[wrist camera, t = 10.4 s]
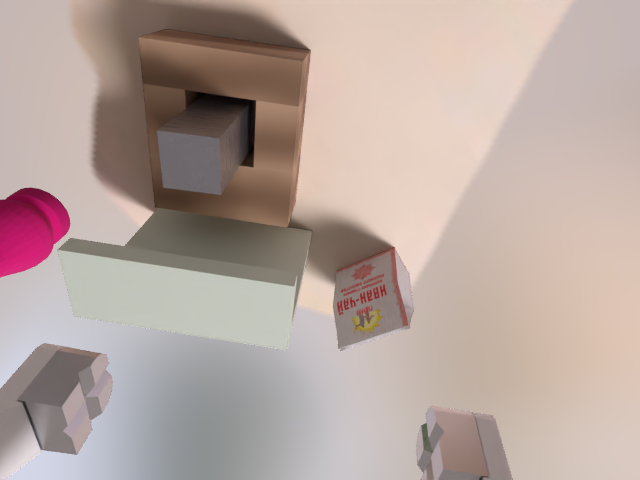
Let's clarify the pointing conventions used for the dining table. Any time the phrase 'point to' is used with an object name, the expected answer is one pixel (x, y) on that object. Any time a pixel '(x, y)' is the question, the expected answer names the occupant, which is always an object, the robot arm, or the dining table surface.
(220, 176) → the peg
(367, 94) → the dining table surface
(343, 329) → the tea bag
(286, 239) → the pale green stepped block
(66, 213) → the pepper mill
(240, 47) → the socket
